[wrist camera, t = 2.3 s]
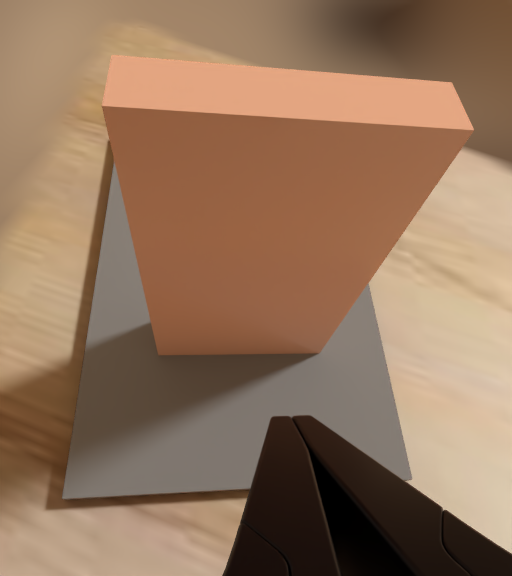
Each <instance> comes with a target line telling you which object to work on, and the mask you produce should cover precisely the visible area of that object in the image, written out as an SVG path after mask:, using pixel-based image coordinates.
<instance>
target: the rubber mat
mask: <svg viewBox="0 0 512 576" xmlns="http://www.w3.org/2000/svg"><path fill="white" fill-rule="evenodd" d="M296 415H311V416H313V417H314V418H316V419H317V420H318V421H320V422H321V423H323V424H324V425H326V426H327V427H328V428H330V429H331V430H333V431H334V432H336V433H337V434H338V435H340V436H341V437H343V438H344V439H346V440H347V441H348V442H350V443H351V444H353V445H354V446H356V447H357V448H358V449H360V450H361V451H363V452H364V453H366V454H367V455H368V456H370V457H371V458H373V459H374V460H376V461H377V462H378V463H380V464H381V465H383V466H384V467H386V468H387V469H388V470H390V471H391V472H393V473H394V474H396V475H397V476H398V477H400V478H401V479H403V480H404V481H407V480H412V475H411V471H410V467H409V462H408V458H407V453H406V449H405V444H404V440H403V435H402V431H401V426H400V422H399V417H398V413H397V409H396V404H395V400H394V395H393V391H392V386H391V382H390V377H389V373H388V368H387V364H386V360H385V355H384V351H383V346H382V342H381V337H380V333H379V328H378V324H377V319H376V315H375V310H374V306H373V302H372V297H371V293H370V288H369V284H367V286H366V287H365V289H364V290H363V291H362V293H361V294H360V296H359V297H358V299H357V300H356V301H355V303H354V304H353V306H352V307H351V309H350V310H349V312H348V313H347V314H346V316H345V317H344V319H343V320H342V322H341V323H340V325H339V326H338V327H337V329H336V330H335V332H334V333H333V335H332V336H331V338H330V339H329V340H328V342H327V343H326V345H325V346H324V348H323V349H322V351H321V352H320V353H308V354H225V355H158V352H157V347H156V343H155V338H154V334H153V330H152V325H151V321H150V316H149V312H148V307H147V303H146V299H145V294H144V290H143V285H142V281H141V276H140V272H139V268H138V263H137V259H136V254H135V250H134V246H133V241H132V237H131V232H130V228H129V223H128V219H127V215H126V210H125V206H124V201H123V197H122V192H121V188H120V184H119V179H118V175H117V170H116V166H115V162H114V166H113V172H112V178H111V185H110V191H109V198H108V204H107V211H106V217H105V224H104V230H103V237H102V243H101V250H100V256H99V262H98V269H97V275H96V282H95V288H94V295H93V301H92V308H91V314H90V321H89V327H88V334H87V340H86V347H85V353H84V359H83V366H82V372H81V379H80V385H79V392H78V398H77V405H76V411H75V418H74V424H73V431H72V437H71V443H70V450H69V456H68V463H67V469H66V476H65V482H64V489H63V495H62V499H65V500H70V499H88V498H106V497H124V496H141V495H159V494H177V493H195V492H213V491H231V490H249V489H250V488H251V484H252V481H253V477H254V474H255V471H256V467H257V464H258V460H259V457H260V453H261V450H262V446H263V443H264V440H265V436H266V433H267V429H268V426H269V422H270V419H271V417H273V416H290V417H291V418H292V417H293V416H296Z"/></svg>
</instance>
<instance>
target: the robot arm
mask: <svg viewBox="0 0 512 576" xmlns="http://www.w3.org/2000/svg"><path fill="white" fill-rule="evenodd" d="M222 576H512V554H511V553H510V552H508V551H506V550H505V549H503V548H502V547H500V546H498V545H497V544H495V543H494V542H492V541H491V540H489V539H488V538H486V537H485V536H483V535H482V534H481V533H479V532H478V531H476V530H475V529H473V528H472V527H470V526H469V525H467V524H466V523H464V522H463V521H461V520H460V519H459V518H457V517H456V516H454V515H453V514H451V513H450V512H449V511H447V510H444V511H443V508H442V507H441V506H440V505H438V504H437V503H435V502H434V501H433V500H431V499H430V498H428V497H427V496H425V495H424V494H423V493H421V492H420V491H418V490H417V489H415V488H414V487H413V486H411V485H410V484H408V483H407V482H405V481H404V480H403V479H401V478H400V477H398V476H397V475H396V474H394V473H393V472H391V471H390V470H388V469H387V468H386V467H384V466H383V465H381V464H380V463H378V462H377V461H376V460H374V459H373V458H371V457H370V456H368V455H367V454H366V453H364V452H363V451H361V450H360V449H358V448H357V447H356V446H354V445H353V444H351V443H350V442H348V441H347V440H346V439H344V438H343V437H341V436H340V435H338V434H337V433H336V432H334V431H333V430H331V429H330V428H328V427H327V426H326V425H324V424H323V423H321V422H320V421H318V420H317V419H316V418H314V417H313V416H311V415H296V416H293V417H292V418H291V417H290V416H273V417H271V419H270V422H269V426H268V429H267V433H266V436H265V440H264V443H263V446H262V450H261V453H260V457H259V460H258V464H257V467H256V471H255V474H254V477H253V481H252V484H251V488H250V491H249V495H248V498H247V502H246V505H245V508H244V512H243V515H242V519H241V522H240V525H239V528H238V531H237V535H236V538H235V542H234V545H233V548H232V551H231V554H230V556H229V559H228V562H227V565H226V568H225V571H224V573H223V575H222Z"/></svg>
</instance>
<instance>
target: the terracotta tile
mask: <svg viewBox="0 0 512 576" xmlns="http://www.w3.org/2000/svg"><path fill="white" fill-rule="evenodd" d="M102 108H103V113H104V117H105V122H106V126H107V131H108V135H109V139H110V144H111V148H112V153H113V157H114V162H115V166H116V170H117V175H118V179H119V184H120V188H121V192H122V197H123V201H124V206H125V210H126V215H127V219H128V223H129V228H130V232H131V237H132V241H133V246H134V250H135V254H136V259H137V263H138V268H139V272H140V276H141V281H142V285H143V290H144V294H145V299H146V303H147V307H148V312H149V316H150V321H151V325H152V330H153V334H154V338H155V343H156V347H157V352H158V355H225V354H308V353H320V352H321V351H322V349H323V348H324V346H325V345H326V343H327V342H328V340H329V339H330V338H331V336H332V335H333V333H334V332H335V330H336V329H337V327H338V326H339V325H340V323H341V322H342V320H343V319H344V317H345V316H346V314H347V313H348V312H349V310H350V309H351V307H352V306H353V304H354V303H355V301H356V300H357V299H358V297H359V296H360V294H361V293H362V291H363V290H364V289H365V287H366V286H367V284H368V283H369V281H370V280H371V278H372V277H373V276H374V274H375V273H376V271H377V270H378V268H379V267H380V265H381V264H382V263H383V261H384V260H385V258H386V257H387V255H388V254H389V252H390V251H391V250H392V248H393V247H394V245H395V244H396V242H397V241H398V239H399V238H400V237H401V235H402V234H403V232H404V231H405V229H406V228H407V226H408V225H409V224H410V222H411V221H412V219H413V218H414V216H415V215H416V213H417V212H418V211H419V209H420V208H421V206H422V205H423V203H424V202H425V200H426V199H427V198H428V196H429V195H430V193H431V192H432V190H433V189H434V187H435V186H436V185H437V183H438V182H439V180H440V179H441V177H442V176H443V174H444V173H445V172H446V170H447V169H448V167H449V166H450V164H451V163H452V161H453V160H454V159H455V157H456V156H457V154H458V153H459V151H460V150H461V148H462V147H463V146H464V144H465V143H466V141H467V139H468V138H469V137H470V135H471V134H472V132H473V131H474V129H473V127H472V125H471V122H470V120H469V118H468V116H467V114H466V112H465V110H464V108H463V105H462V104H461V101H460V99H459V97H458V95H457V93H456V91H455V88H454V86H453V84H452V83H450V82H438V81H426V80H414V79H402V78H389V77H377V76H365V75H352V74H340V73H328V72H315V71H303V70H290V69H279V68H278V69H277V68H267V67H254V66H242V65H230V64H217V63H205V62H193V61H181V60H168V59H156V58H144V57H131V56H119V55H112V56H111V61H110V67H109V72H108V77H107V82H106V87H105V92H104V98H103V103H102Z"/></svg>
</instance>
